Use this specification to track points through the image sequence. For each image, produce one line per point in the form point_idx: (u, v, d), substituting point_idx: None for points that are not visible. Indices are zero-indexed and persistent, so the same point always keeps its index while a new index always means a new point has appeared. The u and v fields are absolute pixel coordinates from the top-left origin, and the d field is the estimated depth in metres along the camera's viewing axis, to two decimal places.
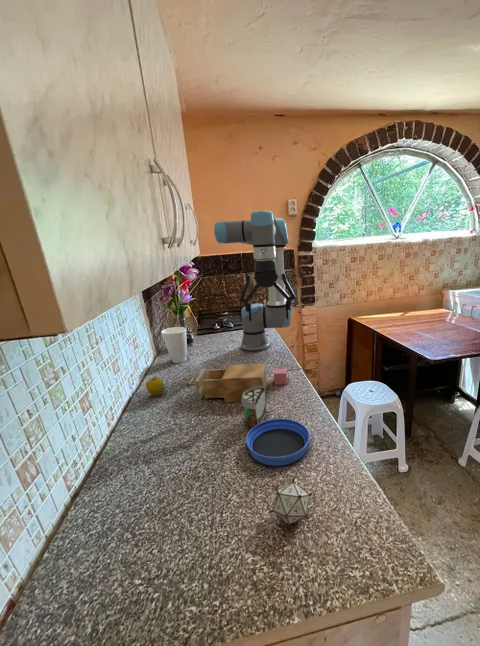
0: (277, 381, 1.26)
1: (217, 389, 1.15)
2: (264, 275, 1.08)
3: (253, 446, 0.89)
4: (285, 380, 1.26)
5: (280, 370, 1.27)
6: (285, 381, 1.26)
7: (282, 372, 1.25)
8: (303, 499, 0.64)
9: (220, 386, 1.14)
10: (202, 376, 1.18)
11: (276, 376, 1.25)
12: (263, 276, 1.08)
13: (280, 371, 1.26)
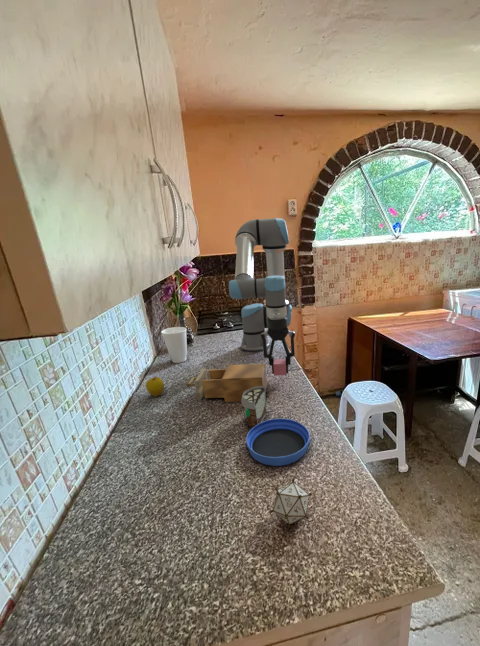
0: (277, 372, 1.25)
1: (217, 389, 1.15)
2: (276, 331, 1.20)
3: (253, 446, 0.89)
4: (284, 371, 1.24)
5: (279, 361, 1.26)
6: (284, 372, 1.25)
7: (281, 363, 1.24)
8: (303, 499, 0.64)
9: (220, 386, 1.14)
10: (202, 376, 1.18)
11: (275, 367, 1.24)
12: (274, 329, 1.20)
13: (280, 362, 1.25)
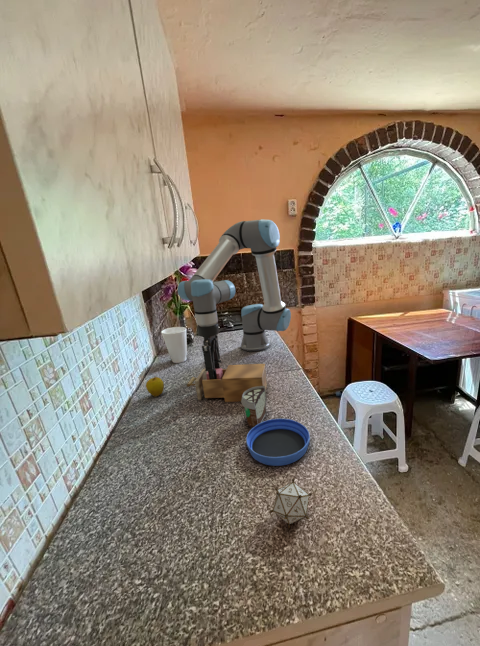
0: None
1: (217, 389, 1.15)
2: None
3: (253, 446, 0.89)
4: None
5: None
6: None
7: None
8: (303, 499, 0.64)
9: (220, 386, 1.14)
10: (202, 376, 1.18)
11: None
12: None
13: None
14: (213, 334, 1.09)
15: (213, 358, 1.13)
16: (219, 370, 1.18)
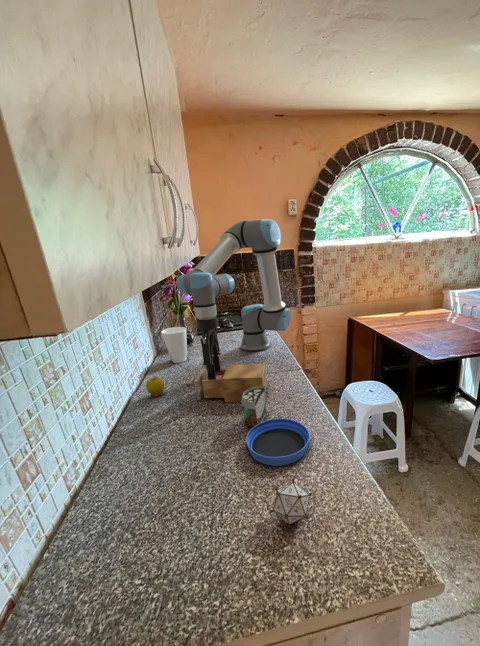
0: None
1: (217, 389, 1.15)
2: None
3: (253, 446, 0.89)
4: None
5: None
6: None
7: None
8: (303, 499, 0.64)
9: (220, 386, 1.14)
10: (202, 376, 1.18)
11: None
12: None
13: None
14: (212, 327, 1.09)
15: (212, 352, 1.11)
16: (220, 377, 1.19)
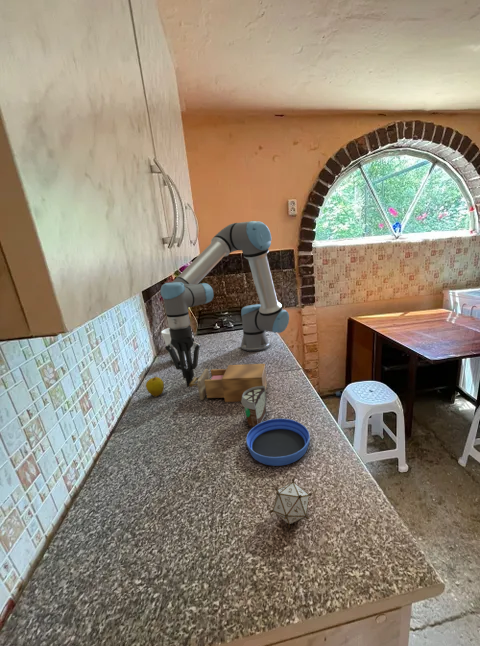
0: None
1: (219, 389, 1.15)
2: (179, 341, 1.12)
3: (253, 446, 0.89)
4: None
5: (218, 378, 1.18)
6: None
7: None
8: (303, 499, 0.64)
9: (222, 386, 1.14)
10: (204, 376, 1.18)
11: None
12: None
13: (215, 378, 1.18)
14: None
15: None
16: None
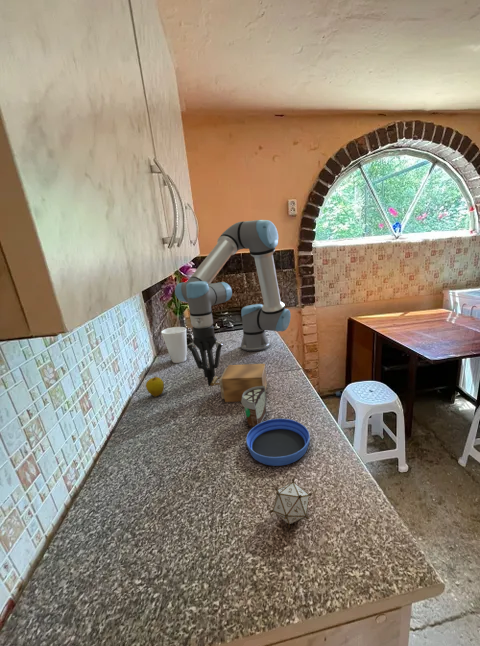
0: None
1: None
2: (202, 340, 1.12)
3: (253, 446, 0.89)
4: None
5: None
6: None
7: None
8: (303, 499, 0.64)
9: None
10: None
11: None
12: None
13: None
14: None
15: None
16: None
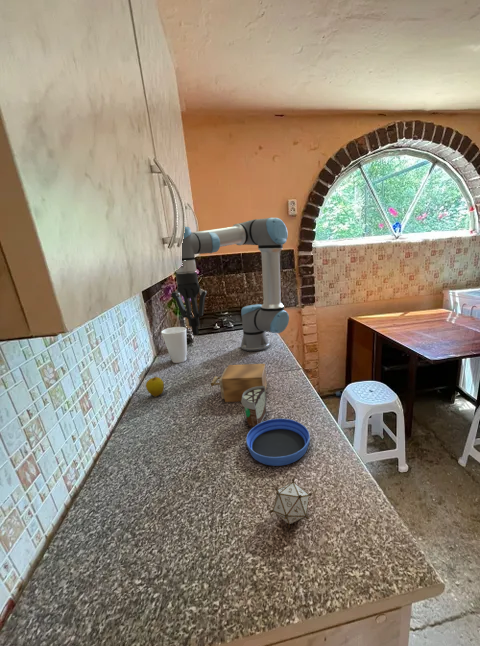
0: None
1: None
2: (186, 287, 1.13)
3: (253, 446, 0.89)
4: None
5: None
6: None
7: None
8: (303, 499, 0.64)
9: None
10: None
11: None
12: (182, 284, 1.13)
13: None
14: None
15: None
16: None
